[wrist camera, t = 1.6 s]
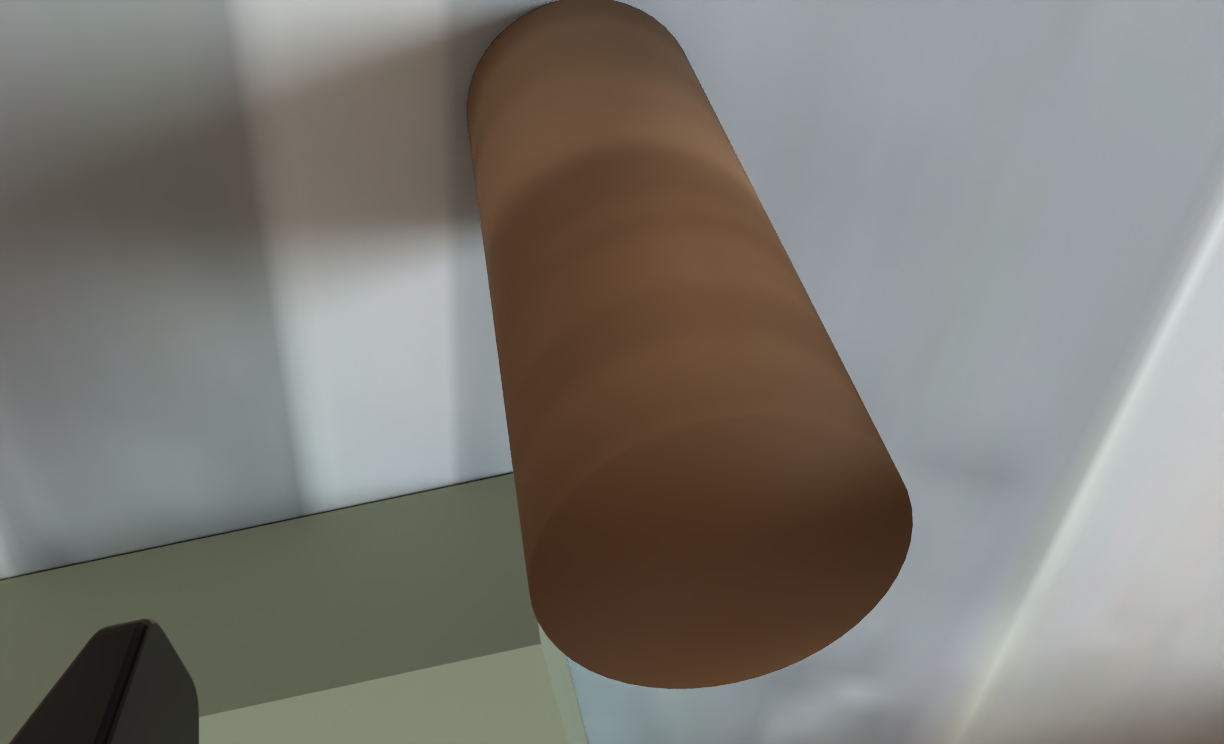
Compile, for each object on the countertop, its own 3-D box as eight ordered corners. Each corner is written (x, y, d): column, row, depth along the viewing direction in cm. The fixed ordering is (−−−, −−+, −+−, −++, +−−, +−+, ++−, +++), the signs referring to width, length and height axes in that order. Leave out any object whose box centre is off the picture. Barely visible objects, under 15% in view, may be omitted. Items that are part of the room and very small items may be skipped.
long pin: (705, 188, 16) (907, 644, 10) (492, 231, 16) (563, 720, 10) (684, -24, 14) (918, 376, 8) (443, 23, 14) (493, 465, 8)
